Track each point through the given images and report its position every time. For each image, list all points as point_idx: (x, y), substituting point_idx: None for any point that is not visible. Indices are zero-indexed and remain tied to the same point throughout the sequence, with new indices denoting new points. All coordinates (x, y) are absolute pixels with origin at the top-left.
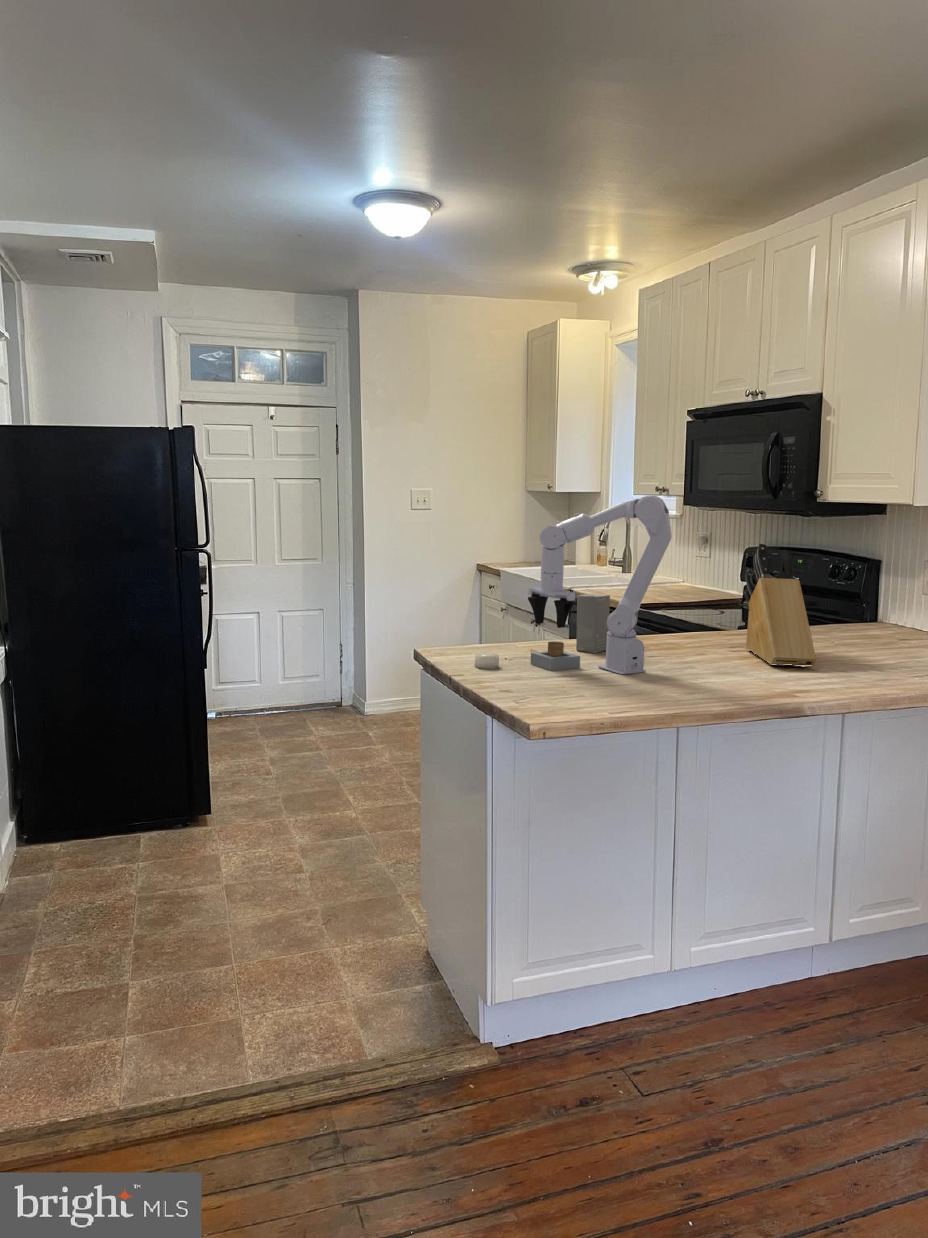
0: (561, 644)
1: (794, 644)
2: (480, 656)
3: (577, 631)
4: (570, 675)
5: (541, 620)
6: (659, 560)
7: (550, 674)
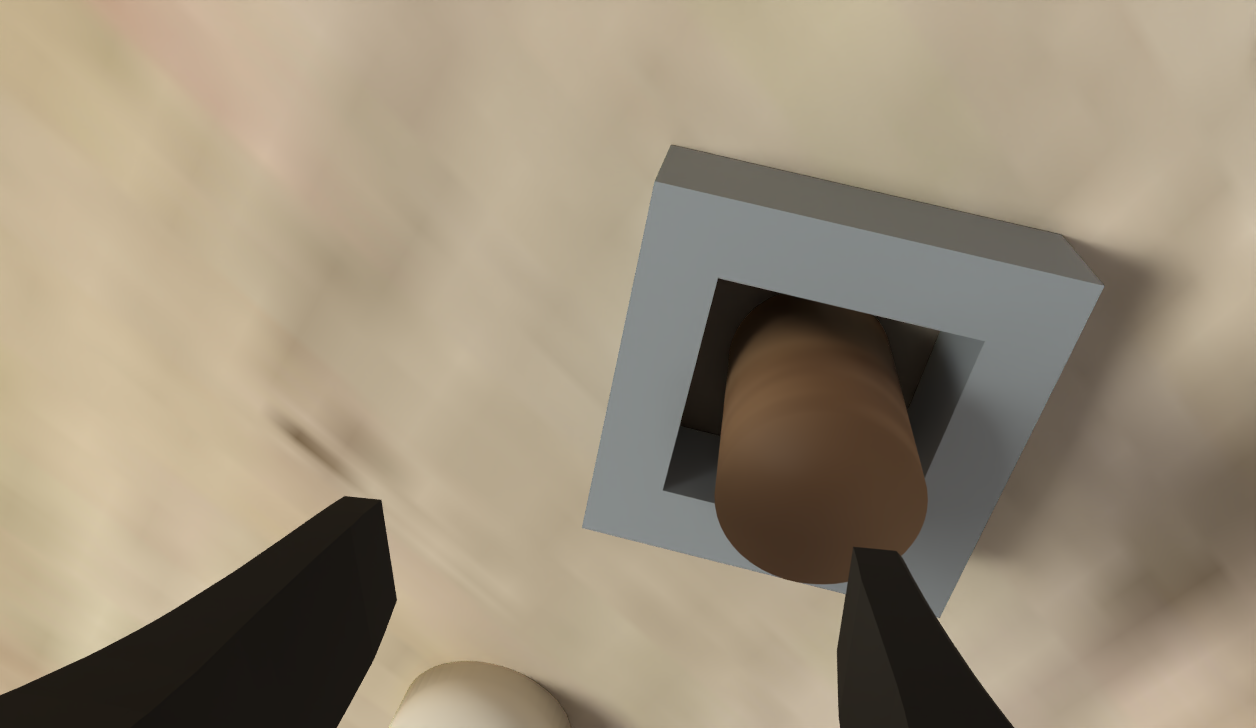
0: (923, 511)
1: None
2: None
3: None
4: (1174, 558)
5: (366, 565)
6: None
7: (1006, 634)
